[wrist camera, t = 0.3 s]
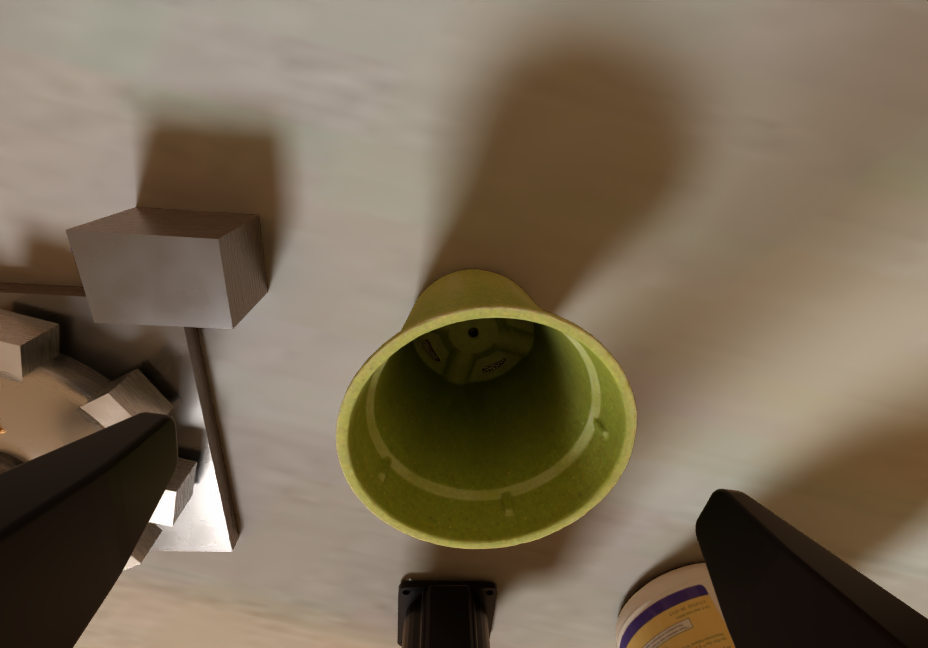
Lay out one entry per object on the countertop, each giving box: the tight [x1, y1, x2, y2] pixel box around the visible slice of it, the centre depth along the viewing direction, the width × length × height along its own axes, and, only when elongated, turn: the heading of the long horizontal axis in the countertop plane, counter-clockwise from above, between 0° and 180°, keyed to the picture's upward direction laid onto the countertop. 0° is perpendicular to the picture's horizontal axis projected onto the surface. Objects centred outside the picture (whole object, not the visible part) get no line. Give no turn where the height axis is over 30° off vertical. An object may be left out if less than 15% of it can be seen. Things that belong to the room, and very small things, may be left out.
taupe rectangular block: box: [66, 207, 268, 329], centre depth 18 cm, size 4×5×4 cm
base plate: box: [0, 283, 239, 552], centre depth 23 cm, size 16×16×1 cm
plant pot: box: [336, 269, 637, 549], centre depth 18 cm, size 9×9×9 cm
